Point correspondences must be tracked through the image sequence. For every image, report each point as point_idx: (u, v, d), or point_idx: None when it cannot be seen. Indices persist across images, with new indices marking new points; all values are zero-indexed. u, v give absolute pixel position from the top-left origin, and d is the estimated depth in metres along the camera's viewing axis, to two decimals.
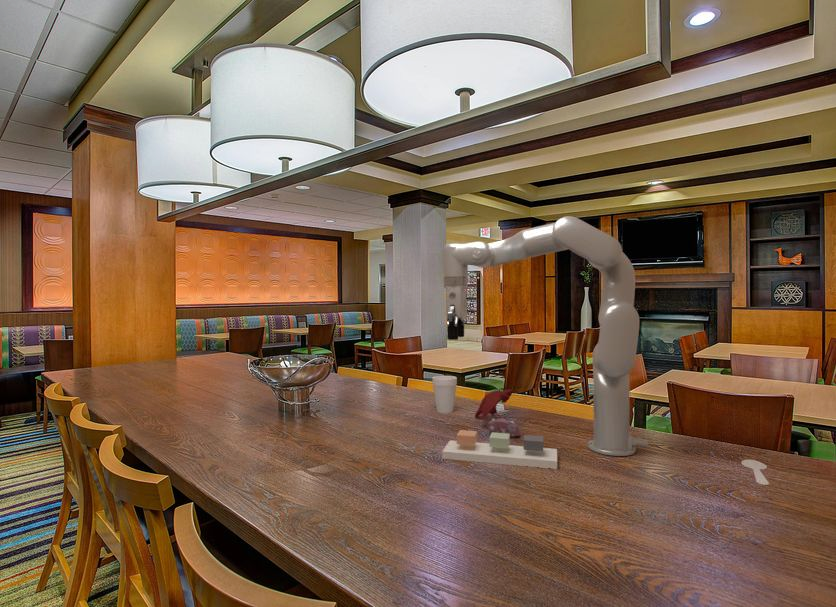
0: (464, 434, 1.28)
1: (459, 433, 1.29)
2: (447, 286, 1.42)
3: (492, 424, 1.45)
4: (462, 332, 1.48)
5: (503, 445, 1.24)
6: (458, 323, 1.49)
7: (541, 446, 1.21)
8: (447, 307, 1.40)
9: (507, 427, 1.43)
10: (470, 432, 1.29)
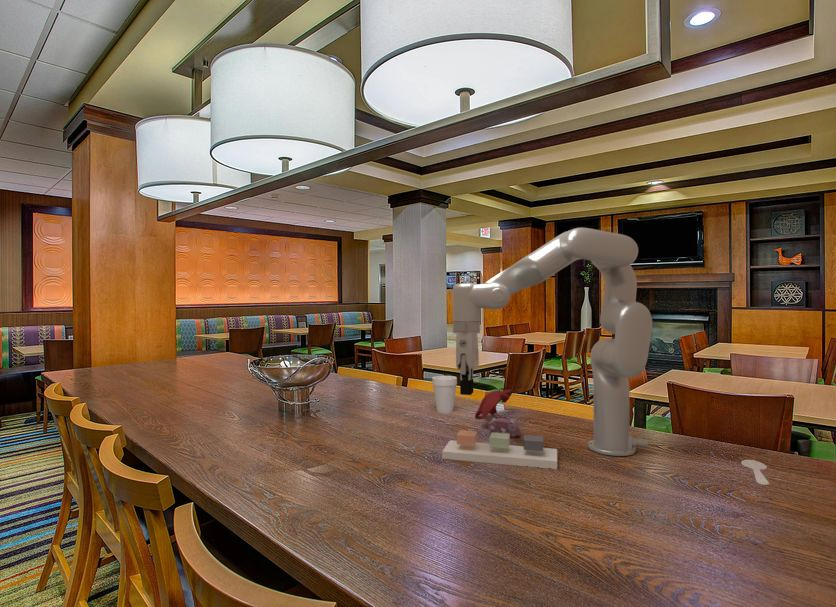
0: (464, 434, 1.28)
1: (459, 433, 1.29)
2: (457, 332, 1.26)
3: (492, 424, 1.45)
4: None
5: (503, 445, 1.24)
6: None
7: (541, 446, 1.21)
8: (457, 356, 1.24)
9: (507, 427, 1.43)
10: (470, 432, 1.29)
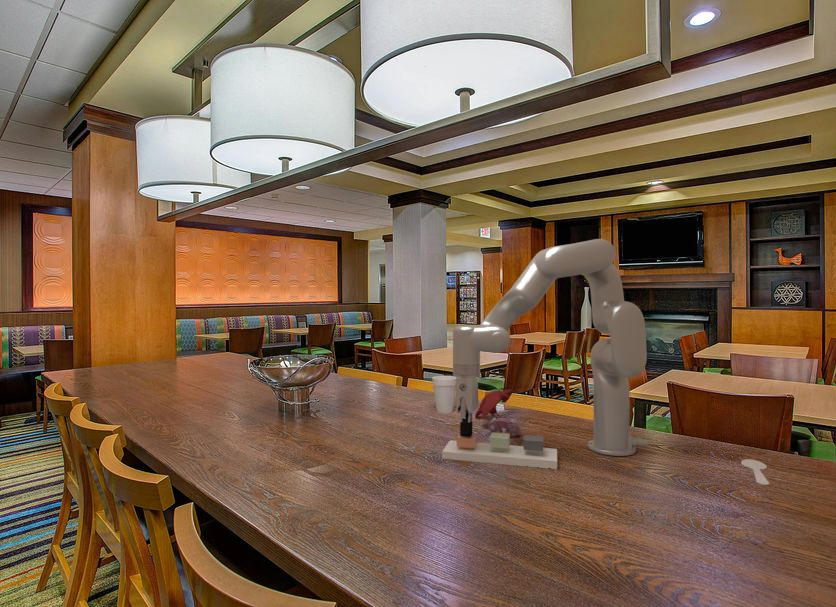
0: (464, 436, 1.28)
1: (459, 435, 1.29)
2: (457, 375, 1.26)
3: (493, 423, 1.46)
4: None
5: (503, 445, 1.24)
6: None
7: (541, 446, 1.21)
8: (457, 400, 1.24)
9: (508, 426, 1.43)
10: None
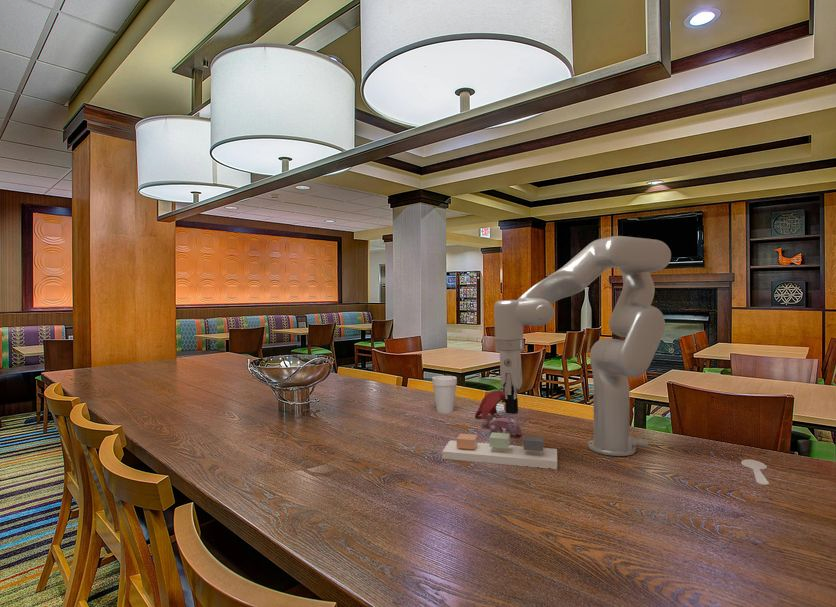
0: (464, 437, 1.28)
1: (459, 436, 1.29)
2: (500, 350, 1.23)
3: (493, 423, 1.46)
4: None
5: (503, 445, 1.24)
6: None
7: (541, 446, 1.21)
8: (502, 376, 1.21)
9: (508, 426, 1.44)
10: (470, 436, 1.29)
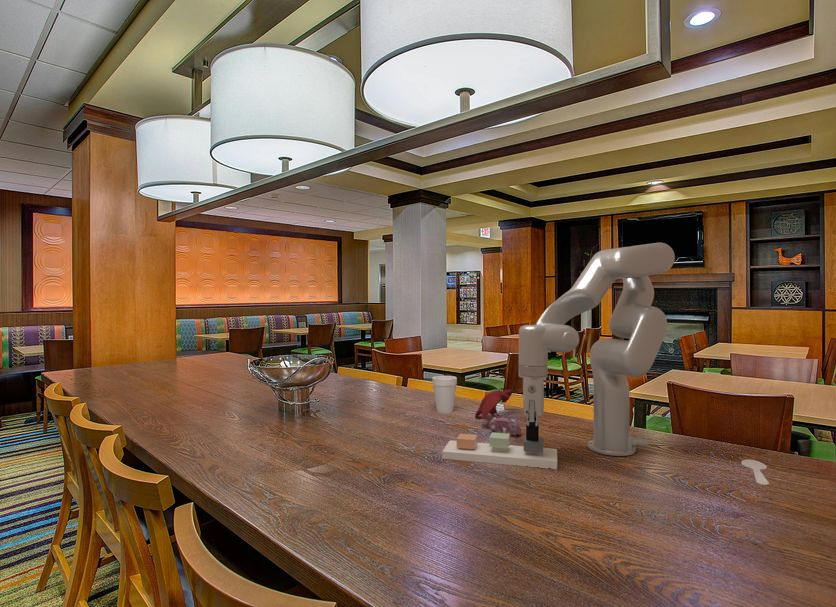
0: (464, 437, 1.28)
1: (459, 436, 1.29)
2: (524, 376, 1.21)
3: (493, 423, 1.46)
4: None
5: (503, 445, 1.24)
6: None
7: (541, 448, 1.21)
8: (525, 402, 1.19)
9: (508, 426, 1.44)
10: (470, 436, 1.29)
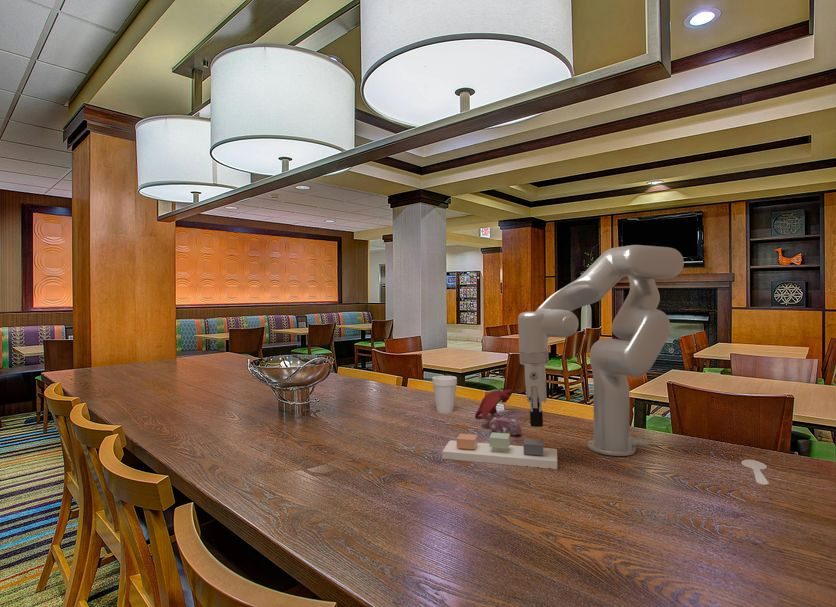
0: (464, 437, 1.28)
1: (459, 436, 1.29)
2: (526, 363, 1.21)
3: (494, 423, 1.46)
4: None
5: (503, 445, 1.24)
6: None
7: (541, 450, 1.21)
8: (528, 389, 1.20)
9: (508, 426, 1.44)
10: (470, 436, 1.29)
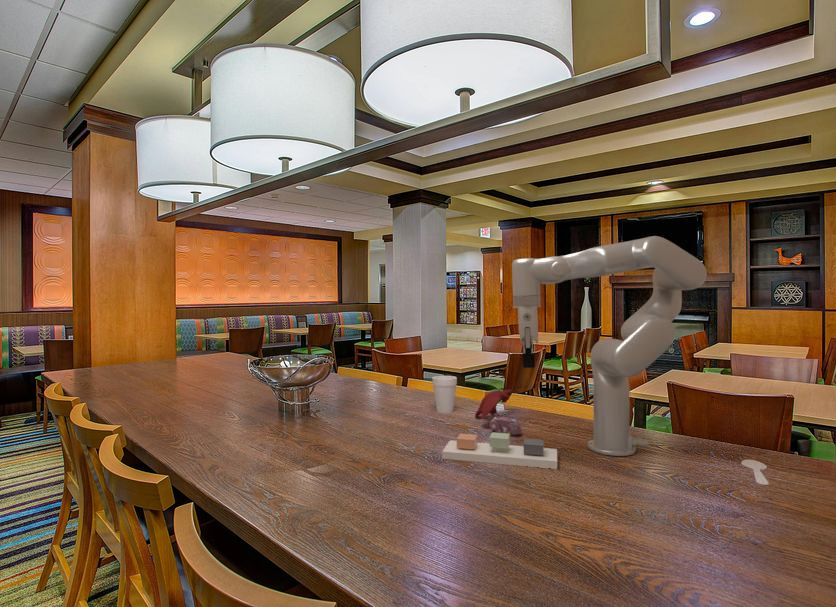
0: (464, 437, 1.28)
1: (459, 436, 1.29)
2: (519, 306, 1.28)
3: (494, 422, 1.47)
4: None
5: (503, 445, 1.24)
6: None
7: (541, 450, 1.21)
8: (521, 330, 1.26)
9: (509, 425, 1.44)
10: (470, 436, 1.29)
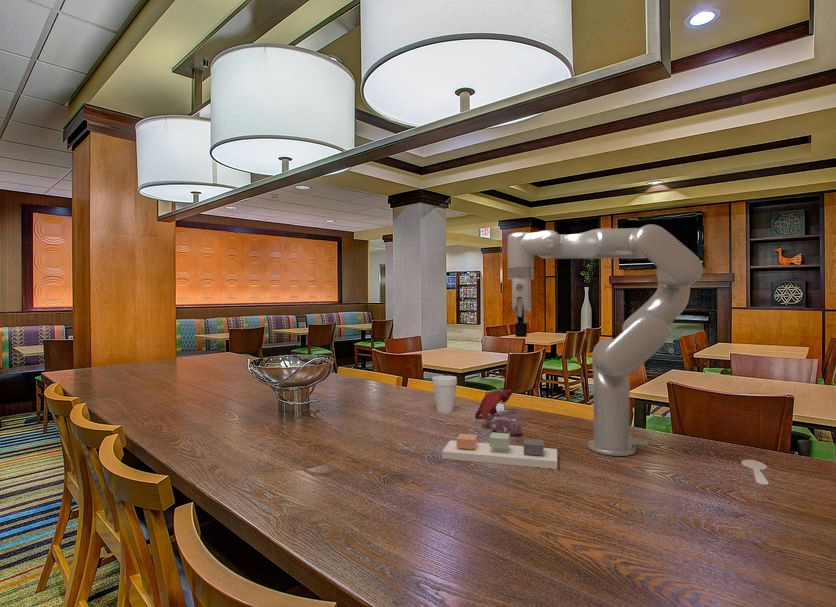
0: (464, 437, 1.28)
1: (459, 436, 1.29)
2: (513, 277, 1.34)
3: (494, 422, 1.47)
4: None
5: (503, 445, 1.24)
6: None
7: (541, 450, 1.21)
8: (514, 299, 1.33)
9: (509, 425, 1.45)
10: (470, 436, 1.29)
